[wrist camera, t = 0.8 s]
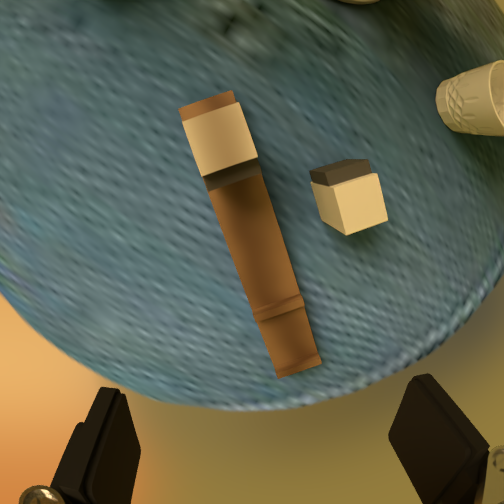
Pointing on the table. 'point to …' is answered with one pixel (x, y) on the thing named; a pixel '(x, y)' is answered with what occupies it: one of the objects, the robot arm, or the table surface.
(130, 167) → the table surface
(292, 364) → the rail
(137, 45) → the table surface
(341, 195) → the cream brown block
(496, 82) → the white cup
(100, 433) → the robot arm
